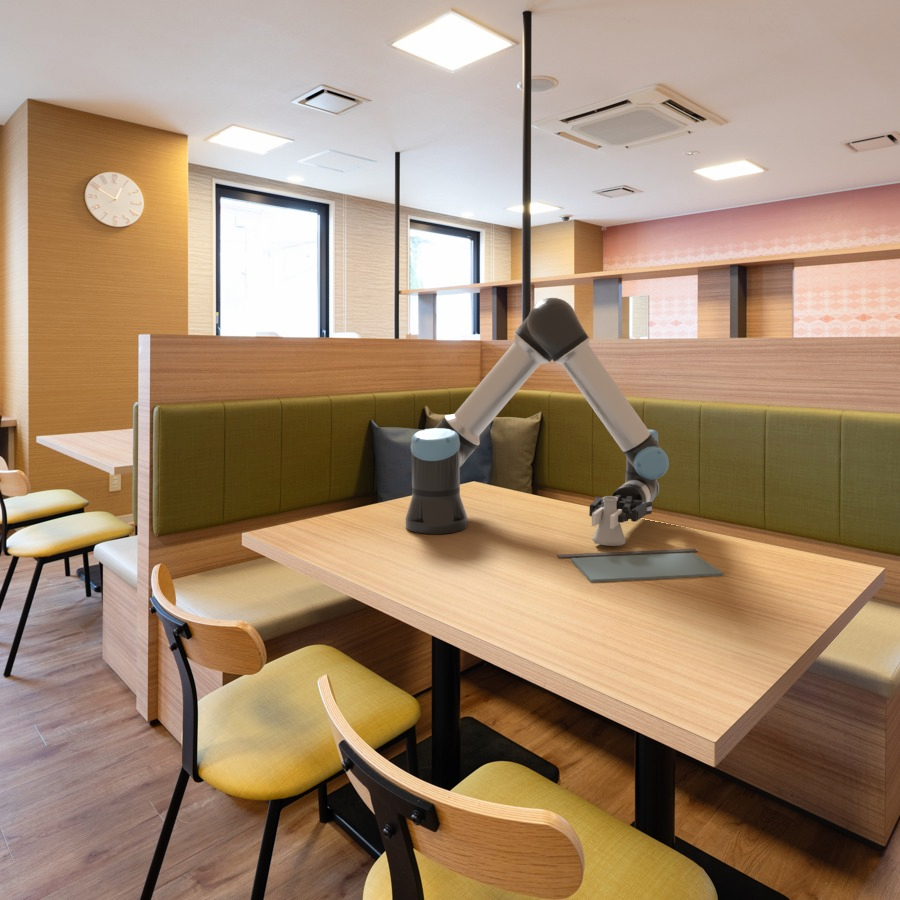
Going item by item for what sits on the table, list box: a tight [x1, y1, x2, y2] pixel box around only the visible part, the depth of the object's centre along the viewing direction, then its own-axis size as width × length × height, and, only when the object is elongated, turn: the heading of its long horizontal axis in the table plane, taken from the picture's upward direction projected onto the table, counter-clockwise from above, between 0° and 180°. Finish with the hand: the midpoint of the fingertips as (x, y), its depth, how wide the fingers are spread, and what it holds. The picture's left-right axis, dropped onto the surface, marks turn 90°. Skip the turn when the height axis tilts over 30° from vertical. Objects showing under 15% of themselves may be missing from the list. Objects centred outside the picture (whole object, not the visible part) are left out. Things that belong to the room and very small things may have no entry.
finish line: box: [556, 548, 699, 559], centre depth 142 cm, size 30×2×1 cm, turn 96°
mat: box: [570, 552, 725, 583], centre depth 133 cm, size 26×13×1 cm, turn 96°
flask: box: [592, 495, 627, 547], centre depth 146 cm, size 7×7×10 cm
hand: (602, 521), depth 142 cm, fingers closed on flask, 3 cm apart
